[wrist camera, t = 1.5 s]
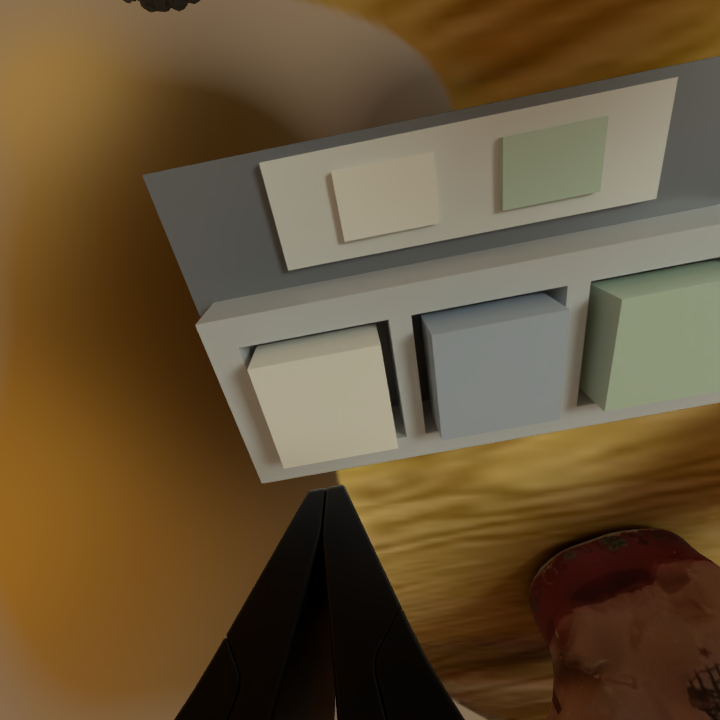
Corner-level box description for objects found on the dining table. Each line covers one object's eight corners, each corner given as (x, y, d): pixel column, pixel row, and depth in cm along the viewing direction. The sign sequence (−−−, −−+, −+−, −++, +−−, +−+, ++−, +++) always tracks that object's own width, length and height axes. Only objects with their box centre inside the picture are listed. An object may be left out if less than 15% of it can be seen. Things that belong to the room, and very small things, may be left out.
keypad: (763, 48, 12) (890, 16, 9) (682, 362, 17) (747, 400, 14) (156, 174, 12) (105, 178, 9) (260, 438, 17) (246, 489, 15)
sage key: (715, 259, 12) (764, 273, 11) (686, 366, 14) (725, 390, 13) (589, 283, 12) (622, 299, 11) (577, 386, 14) (604, 411, 13)
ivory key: (375, 323, 12) (380, 344, 11) (392, 419, 14) (398, 448, 13) (256, 346, 13) (246, 369, 11) (288, 438, 15) (283, 468, 13)
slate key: (542, 292, 12) (569, 309, 11) (537, 393, 14) (559, 419, 13) (420, 315, 12) (431, 335, 11) (431, 412, 14) (442, 440, 13)
